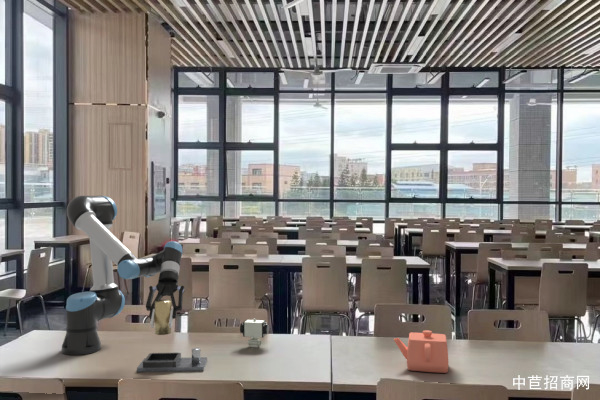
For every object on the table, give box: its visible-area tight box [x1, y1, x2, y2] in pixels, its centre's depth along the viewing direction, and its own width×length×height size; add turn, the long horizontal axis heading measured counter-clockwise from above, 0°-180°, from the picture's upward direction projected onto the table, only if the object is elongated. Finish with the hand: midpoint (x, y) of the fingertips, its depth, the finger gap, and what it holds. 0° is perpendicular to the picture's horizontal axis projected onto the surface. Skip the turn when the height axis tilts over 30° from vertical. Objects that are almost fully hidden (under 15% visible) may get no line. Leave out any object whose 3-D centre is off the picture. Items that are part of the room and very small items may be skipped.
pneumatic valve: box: [239, 318, 270, 349], centre depth 230 cm, size 6×12×12 cm, turn 80°
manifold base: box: [136, 347, 208, 373], centre depth 202 cm, size 24×12×6 cm, turn 93°
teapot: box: [393, 329, 449, 374], centre depth 201 cm, size 20×22×14 cm
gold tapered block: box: [154, 299, 172, 336], centre depth 202 cm, size 6×6×12 cm
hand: (161, 325), depth 198 cm, fingers closed on gold tapered block, 6 cm apart
